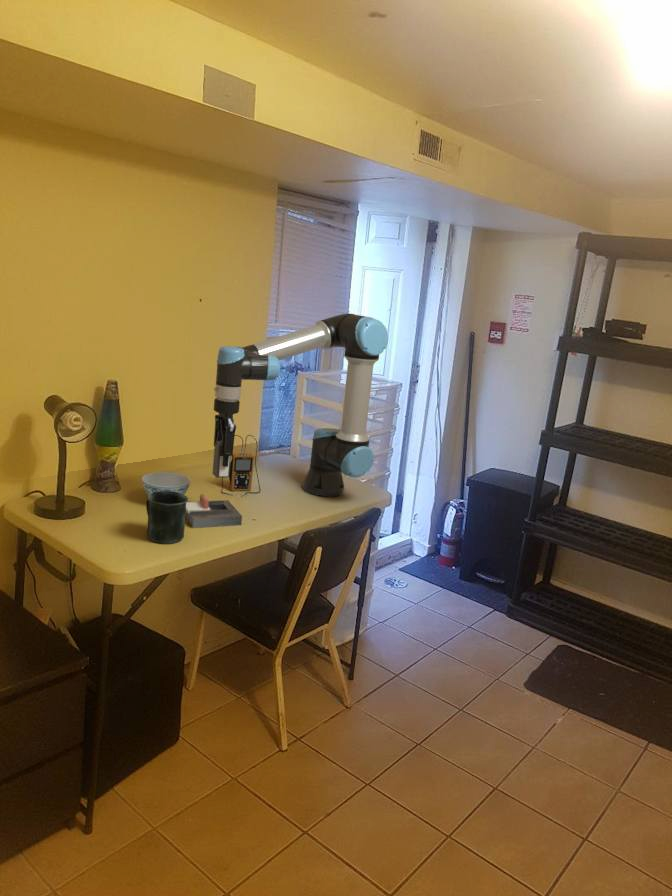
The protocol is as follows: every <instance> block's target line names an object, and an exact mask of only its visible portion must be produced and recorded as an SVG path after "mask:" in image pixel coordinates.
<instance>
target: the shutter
mask: <svg viewBox="0 0 672 896" xmlns="http://www.w3.org/2000/svg"><path fill="white" fill-rule="evenodd" d="M199 501H200V502H197V501H187V502H186V511H187V512H188V513H190V511H209V510H210V508H209V507H208V505H209V501H210V500H209V499H207V497H206V496H205V494H199Z"/></svg>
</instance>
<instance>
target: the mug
mask: <svg viewBox="0 0 672 896" xmlns="http://www.w3.org/2000/svg"><path fill="white" fill-rule="evenodd" d="M186 502H189V498H188V496H186V494H184V495H183V494H181V493H177V492H172V491H159V492H154V493H151V494H149V495H148V494H147V500H146V504H145V505H146V507H145V508H146V514H147V529H146V535H147V538H148V539H149V540H150V541H151V542H154V543H157V544H164V545H165V544H167V545H170V544H171V545H172V544H177V543H178V542H181V541H182V540H184V537H185V528H186V527H185V523H186V517H185V513H186Z"/></svg>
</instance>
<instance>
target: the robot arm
mask: <svg viewBox="0 0 672 896" xmlns="http://www.w3.org/2000/svg"><path fill="white" fill-rule="evenodd" d="M388 341H389V333H388V329H387V327H386V326H385V324H384V323H383V322H382V321H380V320H378V319H377V318H374V317H371V316H365V315H359V314H354V313H343V314H338V315H335V316H330V317H327V318H323V319H321V320H319V321H316V322H315V325H312V326H308V327H305V328H303V329H299V330H295V331H293V332H289V333H286V334H282V335H280V336H276V337H272V338H270V339H266V340H262V341H260V342H256V343H253V344H248V345H246V346H242V347H241V346H227V345H225V346H221V347H220V348H219V349H218V354H217V360H216V364H217V365H216V377H215V378H216V379H215V387H213V391H214V397H215V398H214V400H213V411H214V412H215V413H218V414H215V415H214V422H215V424H214V433H213V434H214V436H213V438H214V439H213V447H215V442H217V441H222V454H219V456H220V466H219V476H228V470H229V458H230V456H231V457H232V455H233V453H234V446H235V437H236V436H235V435H236V434H235V433H236V429H237V424H235V423H234V422H235V421H234V417H233V416H234V414H238V413H239V412H240V406H241V405H240V404H241V401H240V399H241V394H242V381H246V380H247V381H248V380H249V381H250V380H251V381H253V380H254V381H265V382H267V381H274V380H276V379H277V378H278V377H279V375H280V371H281V369H280V368H281V363H280V361H281V360H285V359H289V358H291V357H295V356H297V355H301V354H305V353H307V352H310V351H313V350H317V349H319V348H322V349H325V350H326V349H327V350H328V349H331V348H333V347H339V348H344V353H343V354H344V355H343V356H344V358H345V359H346V360H347V368H346V369H347V370H346V377H345V388H344V395H343V396H344V397H343V408H342V414H341V415H342V416H341V423H340V424H341V425H340V429H339V428H331V427H329V428H327V427H326V428H325V427H324V428H317V429H316V430H314V432H313V436H312V444H311V455H310V465H309V469H308V471H307V474H306V476H305V478H304V480H303V482H302V489H303V490H304V492H306V491H307V492H306V493H308V492H309V493H308V494H310V493H312V494H311V495H314V494H315V495H314V496H318V495H321V496H320V497H326V496H334V497H338V496H337V495H340V494H342V493H343V492H344V493H345V483H344V480H343V479H344V478H343V475H345V476H348V477H349V478H354V479H355V478H360V477H362V476H364V475H366V473H367V472H369V471H370V469H371V468H372V467H373V464H374V460H375V455H374V452H373V451H372V450H373V449H371V448H370V446H369V445H370V437H369V436H368V434H367V427H368V426H367V424H368V416H369V414H368V413H369V408H370V407H369V405H370V399H371V389H372V381H373V380H372V379H373V372H374V364H375V363H376V362H378V361H379V359H380V355H381V354H382V353H383V352H384V350H386V348H387V346H388ZM344 493H343V494H344ZM343 494H342V495H343ZM340 496H341V495H340Z"/></svg>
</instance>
